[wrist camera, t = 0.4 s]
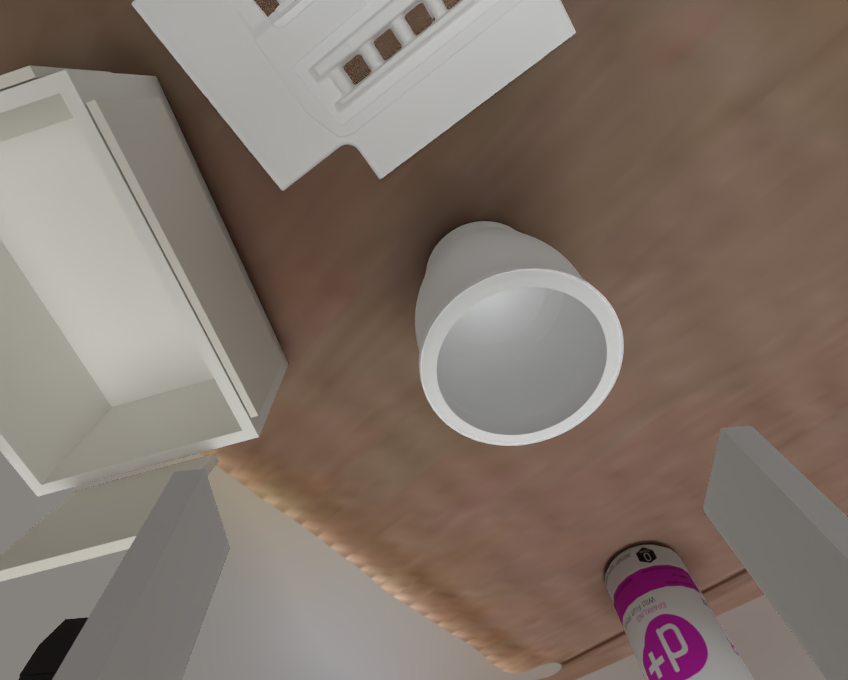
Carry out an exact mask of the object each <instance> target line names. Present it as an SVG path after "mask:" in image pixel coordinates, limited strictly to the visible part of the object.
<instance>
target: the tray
mask: <svg viewBox="0 0 848 680" xmlns="http://www.w3.org/2000/svg"><path fill="white" fill-rule="evenodd" d="M276 1H277V2H278V3H279V6H278V7H277V8H276V10H275V11H274V12H273V13H272V14H271V15H270V16H268V17H267V16H266V14H265V13H264V12H263V11H262V10H261V8H260V7H259V6H258V5H257V4H256V2H255V1H254V0H134V1H133V2H132V3H131V4H132V6H133V7H134V8H135V9H136V11H137V12H138V13H139V14H140V16H141V17H142V18H143V19H144V21H145V22H146V23H147V24H148V26H149V27H150V28H151V30H152V31H153V32H154V33H155V35H156V36H157V37H158V38H159V39H160V41H161V42H162V43H163V44H164V45H165V47H166V48H167V49H168V51H169V52H170V53H171V54H172V56H173V57H174V58H175V59H176V61H177V62H178V63H179V64H180V65H181V67H182V68H183V69H184V71H185V72H186V73H187V74H188V75H189V77H190V78H191V79H192V80H193V82H194V83H195V84H196V85H197V87H198V88H199V89H200V90H201V92H202V93H203V94H204V95H205V96H206V97H207V98H208V99H209V101H210V103H211V104H212V105H213V106H214V108H216V109H217V111H218V113H219V114H220V115H221V116H222V118H223V119H224V120H225V121H226V122H227V123H228V125H229V126H230V127H231V128H232V130H233V131H234V132H235V133H236V135H237V136H238V137H239V138H240V139H241V141H242V142H243V144H244V145H245V146H246V147H247V148H248V150H249V151H250V152H251V153H252V154H253V156H254V157H255V158H256V159H257V161H258V162H259V163H260V164H261V165H262V167H263V168H264V169H265V170H266V172H267V173H268V174H269V175H270V177H271V178H272V179H273V180H274V182H275V183H276V184H277V185H278V187H279V188H280V189H281V190H282V191H284V190H285V189H287V188H288V187H289V186H291V185H292V184H293V183H294V182H296V181H297V180H298V179H299V178H301V177H302V176H303V175H305V174H306V173H307V172H308V171H310V170H311V169H312V168H313V167H315V166H316V165H317V164H319V163H320V162H321V161H322V160H324V159H325V158H326V157H328V156H329V155H330V154H331V153H333V152H334V151H335V150H336V149H338V148H339V147H340V146H342V145H352V146H354V147H356V148H357V149H358V150H359V151H360V153H361V154H362V156H363V157H364V158H365V160H366V161H367V163H368V164H369V165H370V167H371V168H372V170H373V171H374V172H375V174H376V175H377V177H378V178H379V179H382V178H383V177H384V176H386V175H387V174H388V173H390V172H391V171H392V170H394V169H395V168H396V167H398V166H399V165H400V164H401V163H403V162H404V161H406V160H407V159H408V158H410V157H411V156H413V155H414V154H415V153H416V152H418V151H419V150H420V149H422V148H423V147H424V146H426V145H427V144H428V143H430V142H431V141H432V140H433V139H435V138H436V137H438V136H439V135H440V134H442V133H443V132H444V131H446V130H447V129H449V127H451V126H452V125H453V124H455V123H456V122H458V121H459V120H460V119H462V118H463V117H465V116H466V115H467V114H468V113H470V112H471V111H472V110H474V109H475V108H476V107H477V106H479V105H480V104H482V103H483V102H484V101H486V100H487V99H489V98H490V97H491V96H492V95H494V94H495V93H496V92H497V91H499V90H500V89H502V88H503V87H504V86H506V85H507V84H508V83H509V82H511V81H512V80H514V79H515V78H516V77H518V76H519V75H520V74H522V73H523V72H524V71H526V70H527V69H529V68H530V67H531V66H533V65H534V64H535V63H537V62H538V61H539V60H541V59H542V58H543V57H544V56H546V55H547V54H548V53H550V52H551V51H552V50H554V49H555V48H556V47H557V46H559V45H560V44H562V43H563V42H564V41H566V40H567V39H568V38H570V37H571V36H572V35H574V34H575V33H576V31H575V29H574V27H573V25H572V23H571V21H570V18H569V16H568V14H567V12H566V10H565V8H564V6H563V4H562V2H561V0H461V1H459V2H458V3H457V4H456V5H454V6H453V7H452V8H451V9H446V7H445V5H444V3H443V1H442V0H296V1H295V0H276ZM419 3H423V4H424V5H425V7H426V9H427V11H428V13H429V14H430V16H431V17H432V19H433V18H435V21H433V23H432V24H431V25H430V26H428V27H427V28H426V29H425V30H424V31H422V32H421V33H420V34H419V35H415V34H414V33H413V31H412V29H411V27H410V26H409V24H408V23H407V21H406V20H405V15H406V14H407V13H408V12H409V11H411V10H412V9H413V8H414V7H415V6H417V5H418V4H419ZM388 29H392V31H393V33H394V35H395V36H396V38H397V40H398V41H399V42H400V44H401V49H400V50H399V51H398V52H396V53H395V54H394V55H393V56H391V57H390V58H389V59H388V60H384V59H383V58H382V56H381V54H380V53H379V51H378V50H377V48H376V47H375V46H374V40H375V39H377V38H378V37H379V36H380V35H381V34H383V33H384V32H385V31H386V30H388ZM357 54H360V55H361V56H362V57H363V59H364V61H365V62H366V64H367V65H368V67H369V68H370V69H371V73H370V74H369V75H368V76H367V77H365V78H364V79H363V80H362V81H360V82H359V83H358V84H353V82H352V80H351V79H350V77H349V76H348V74H347V73H346V72H345V70H344V69H343V67H344V65H345V64H346V63H347V62H349V61H350V60H351V59H352V58H354V57H355V56H356V55H357Z"/></svg>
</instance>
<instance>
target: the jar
mask: <svg viewBox="0 0 848 680" xmlns="http://www.w3.org/2000/svg"><path fill="white" fill-rule="evenodd" d="M415 331H416V338H417V344H418V348H419V351H420V354H419V373H420V379H421V383H422V387H423V390H424V392H425V395H426V397H427V400H428V402H429V403H430V405H431V407H432V408H433V410H434V411H435V413H436V414H437V415H438V416H439V417H440V418H441V419H442V420H443V421H444V422H445V423H446V424H447V425H448V426H450V427H451V428H452V429H454V430H455V431H457V432H458V433H460V434H462V435H464V436H466V437H468V438H471V439H473V440H476V441H480V442H483V443H488V444H494V445H504V446H514V445H526V444H532V443H536V442H540V441H544V440H547V439H550V438H553V437H555V436H558V435H560V434H562V433H564V432H566V431H568V430H570V429H571V428H573V427H575V426H576V425H578V424H579V423H581V422H582V421H583V420H585V419H586V418H587V417H588V416H589V415H591V414H592V413H593V412H594V411H595V410H596V409H597V408H598V407H599V406H600V404H601V403H602V402H603V401H604V399H605V398H606V397H607V395H608V394H609V392H610V391H611V389H612V387H613V385H614V383H615V381H616V379H617V377H618V374H619V371H620V368H621V364H622V359H623V350H624V342H623V333H622V329H621V325H620V322H619V319H618V317H617V315H616V313H615V311H614V309H613V307H612V306H611V304H610V303H609V302H608V300H607V299H606V298H605V297H604V296H603V295H602V294H601V293H600V292H599V291H598V290H597V289H596V288H594V287H593V286H592V285H591V284H589V283H588V282H587V281H585V280H584V279H582V277H581V276H580V274H579V273H578V271H577V270H576V269H575V268H574V266H573V265H572V264H571V263H570V262H569V261H568V260H567V259H566V258H565V257H564V256H563V255H562V254H560V253H559V252H558V251H557V250H555V249H554V248H553V247H551V246H550V245H548V244H546V243H545V242H543V241H541V240H539V239H537V238H534V237H532V236H529V235H526V234H523V233H521V232H518V231H516V230H514V229H513V228H511V227H509V226H507V225H504V224H501V223H498V222H492V221H478V222H472V223H468V224H465V225H462V226H460V227H458V228H456V229H454V230H453V231H451V232H449V233H448V234H447V235H446V236H445V237H443V238H442V239H441V240H440V241H439V243H438V244H437V245H436V247H435V248H434V249H433V251H432V253H431V255H430V257H429V260H428V263H427V267H426V274H425V276H424V279H423V282H422V285H421V287H420V290H419V294H418V298H417V303H416V310H415Z"/></svg>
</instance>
